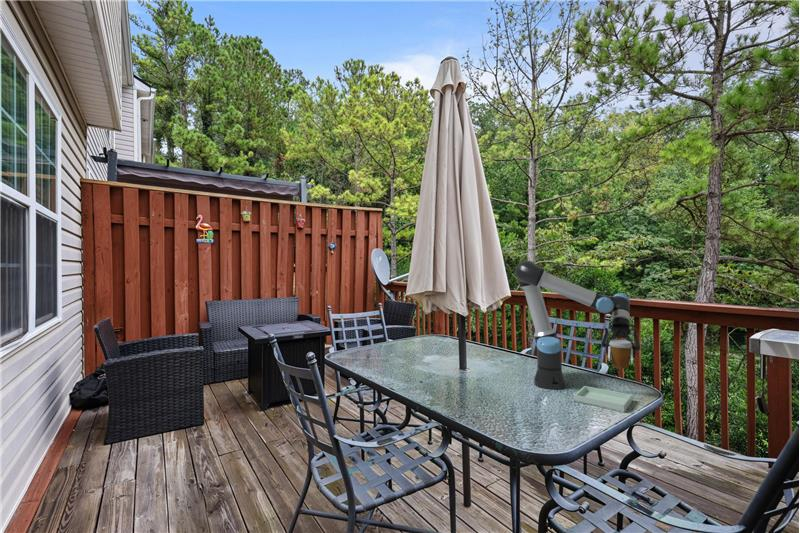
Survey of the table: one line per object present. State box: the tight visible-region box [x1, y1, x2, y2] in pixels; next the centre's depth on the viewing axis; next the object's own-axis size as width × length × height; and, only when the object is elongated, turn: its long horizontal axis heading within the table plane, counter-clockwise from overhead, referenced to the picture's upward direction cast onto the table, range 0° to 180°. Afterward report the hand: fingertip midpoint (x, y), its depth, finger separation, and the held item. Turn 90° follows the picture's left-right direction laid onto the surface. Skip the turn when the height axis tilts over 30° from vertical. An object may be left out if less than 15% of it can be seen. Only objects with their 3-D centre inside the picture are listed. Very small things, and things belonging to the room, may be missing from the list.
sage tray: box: [573, 385, 633, 413], centre depth 174 cm, size 20×16×3 cm
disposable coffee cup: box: [609, 339, 632, 370], centre depth 182 cm, size 10×10×12 cm
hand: (620, 360), depth 179 cm, fingers closed on disposable coffee cup, 8 cm apart
